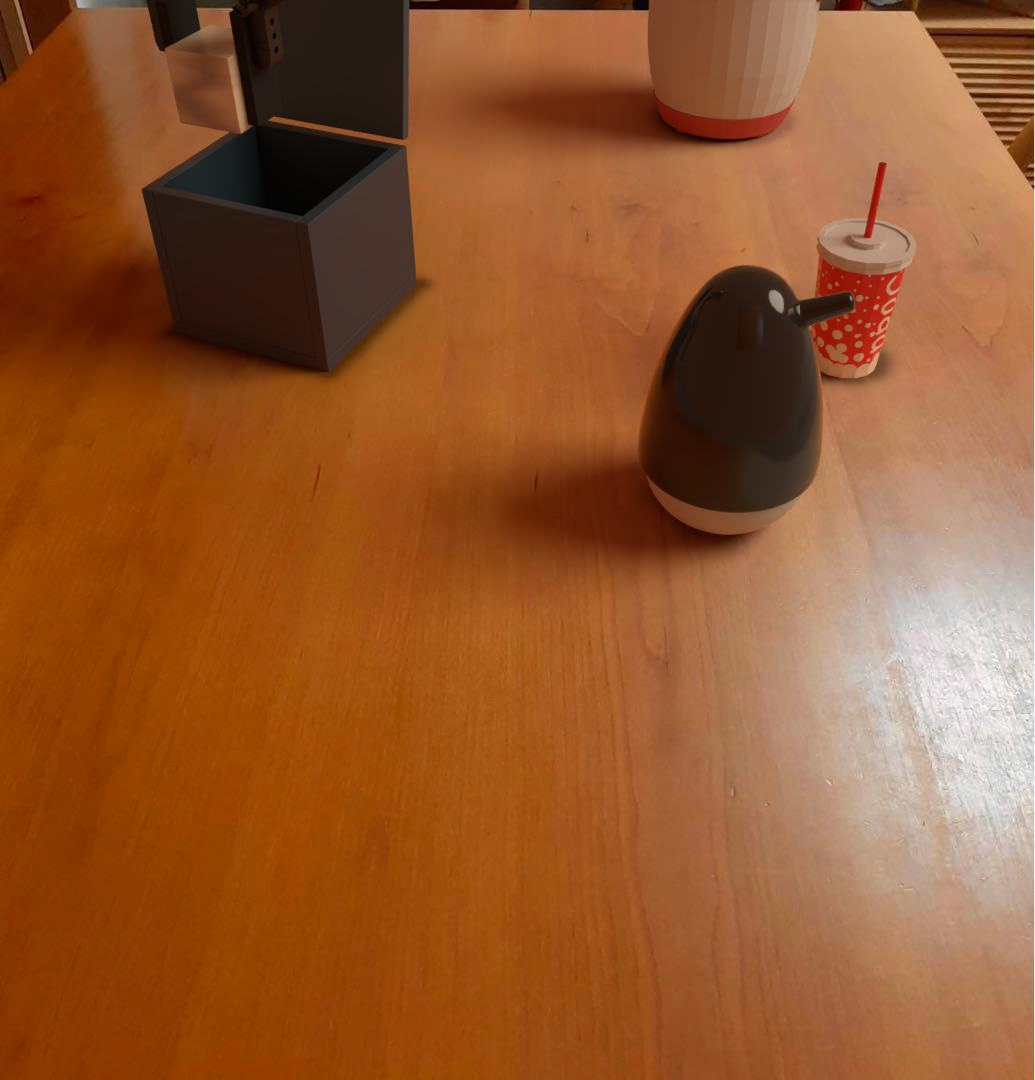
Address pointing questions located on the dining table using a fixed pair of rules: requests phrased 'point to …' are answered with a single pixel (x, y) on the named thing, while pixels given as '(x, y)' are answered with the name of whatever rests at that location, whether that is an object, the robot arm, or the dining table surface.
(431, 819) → the dining table surface
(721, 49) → the citrus juicer
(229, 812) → the dining table surface
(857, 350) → the beverage cup
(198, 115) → the block
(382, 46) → the lid
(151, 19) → the robot arm
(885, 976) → the dining table surface
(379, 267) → the box
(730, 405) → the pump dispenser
